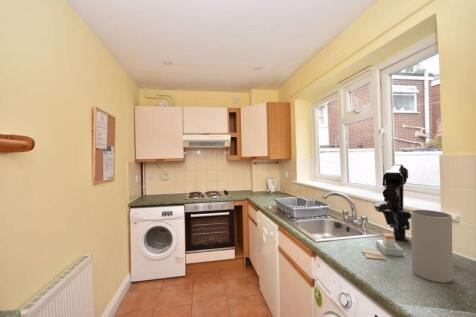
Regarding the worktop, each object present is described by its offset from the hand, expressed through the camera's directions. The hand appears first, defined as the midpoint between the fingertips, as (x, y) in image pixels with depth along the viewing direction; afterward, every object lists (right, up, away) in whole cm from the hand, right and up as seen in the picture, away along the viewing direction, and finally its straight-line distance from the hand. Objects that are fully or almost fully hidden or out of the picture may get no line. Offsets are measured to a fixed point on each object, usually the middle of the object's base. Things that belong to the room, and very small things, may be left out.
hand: (393, 227), depth 114 cm
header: (-1, -12, +2) cm, 12 cm away
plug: (-1, -12, +2) cm, 12 cm away
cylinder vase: (0, -13, -22) cm, 26 cm away
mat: (-12, -12, -4) cm, 18 cm away
